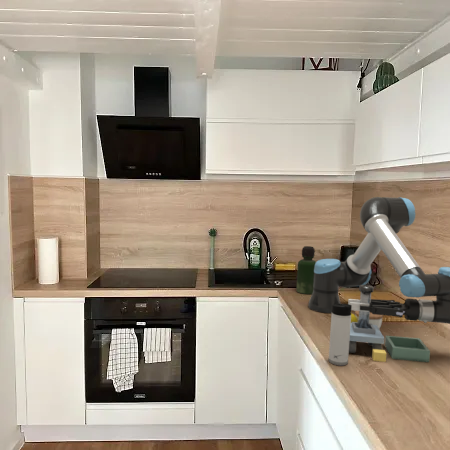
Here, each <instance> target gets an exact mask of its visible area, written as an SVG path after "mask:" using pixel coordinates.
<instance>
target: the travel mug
mask: <svg viewBox="0 0 450 450" xmlns="http://www.w3.org/2000/svg"><path fill="white" fill-rule="evenodd" d="M351 308H352V305H349V304H348V303H341V304H336V305H335V304H333V305H332V313H331V319H330V329H329V330H330V334H329V348H328V362H329V363H330V364H332V365H333V366H341V367H342V366H346V365H348V363H349V340H350V325H351V313H352V310H351Z"/></svg>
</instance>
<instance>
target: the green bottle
mask: <svg viewBox="0 0 450 450" xmlns="http://www.w3.org/2000/svg"><path fill="white" fill-rule="evenodd" d="M315 254H316V250H315V247H314V246H307V245H305V246H303V247H302V249H301V257H302V258H301V259H300V260H299V261H298V262H297V273H296V275H297V276H296V288H295V289H296V292H297V293H299V294H304V295H312V293H313V285H314V268H315V263H316V262H317V261H316V260H314V259H315Z"/></svg>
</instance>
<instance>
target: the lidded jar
mask: <svg viewBox="0 0 450 450" xmlns="http://www.w3.org/2000/svg"><path fill="white" fill-rule="evenodd" d="M354 315H355V316H356V318H357V322H358V320H359V311H354ZM383 317H384V315H377V314H372V313H371V312H370V315H369V323H371V324H373V325H377V326H378V328H379V329H380V328H381V326H382V323H383Z"/></svg>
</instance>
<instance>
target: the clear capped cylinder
mask: <svg viewBox="0 0 450 450" xmlns="http://www.w3.org/2000/svg"><path fill="white" fill-rule="evenodd" d="M358 287H359V288H358V291H359V292H360V299H359V300H360V303H366V304H369V306H370V303H371V299H372V293H373V292H374V286H372V285H368V284H365V285H360V286H358ZM369 315H370V312H366V311H359V320H358V328H365V329H368V328H369Z"/></svg>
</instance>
